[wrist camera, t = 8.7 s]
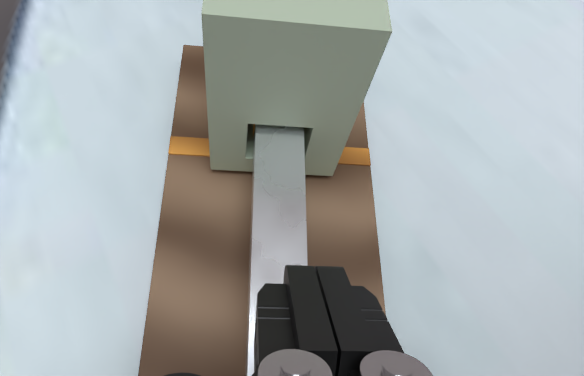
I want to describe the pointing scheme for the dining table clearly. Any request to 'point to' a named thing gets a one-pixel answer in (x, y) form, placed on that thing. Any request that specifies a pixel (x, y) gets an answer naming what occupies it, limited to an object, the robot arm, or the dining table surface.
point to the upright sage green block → (289, 73)
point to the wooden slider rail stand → (238, 240)
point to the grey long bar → (275, 214)
